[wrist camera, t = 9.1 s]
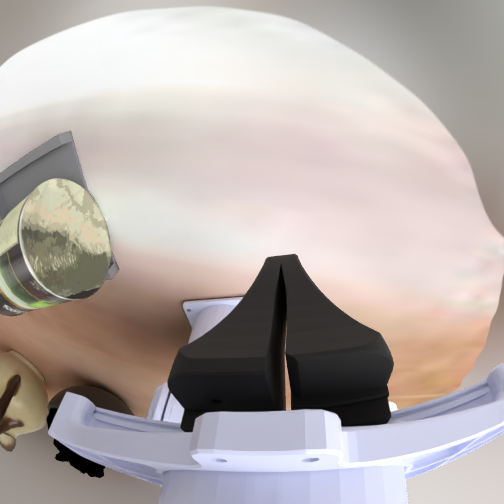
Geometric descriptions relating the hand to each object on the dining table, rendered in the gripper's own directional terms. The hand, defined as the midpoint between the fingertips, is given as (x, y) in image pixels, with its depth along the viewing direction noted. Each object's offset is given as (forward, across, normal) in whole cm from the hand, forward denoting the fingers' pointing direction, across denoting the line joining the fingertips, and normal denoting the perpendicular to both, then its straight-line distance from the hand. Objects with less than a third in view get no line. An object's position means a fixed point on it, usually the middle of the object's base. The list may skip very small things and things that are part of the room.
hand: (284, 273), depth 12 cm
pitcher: (+10, +65, +29) cm, 72 cm away
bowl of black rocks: (+10, +37, +33) cm, 51 cm away
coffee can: (+5, +16, -2) cm, 17 cm away
